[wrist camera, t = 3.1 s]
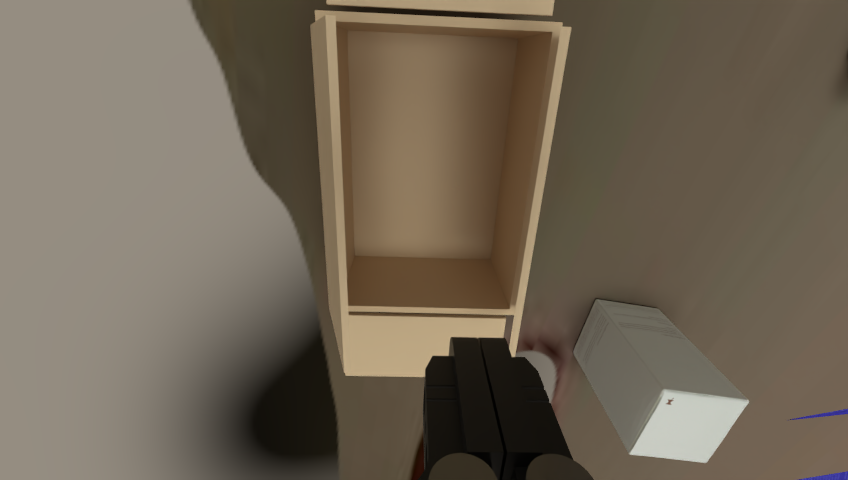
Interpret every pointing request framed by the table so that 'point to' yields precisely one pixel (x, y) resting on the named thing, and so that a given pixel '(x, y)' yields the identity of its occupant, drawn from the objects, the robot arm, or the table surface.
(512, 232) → the carton
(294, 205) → the table surface
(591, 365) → the supplement box
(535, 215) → the flap
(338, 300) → the flap
